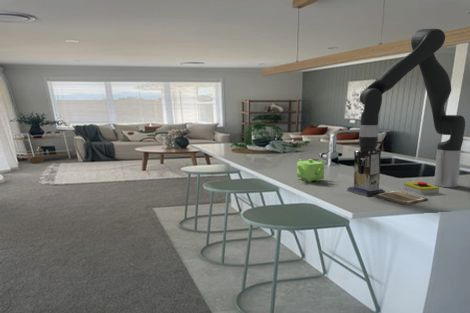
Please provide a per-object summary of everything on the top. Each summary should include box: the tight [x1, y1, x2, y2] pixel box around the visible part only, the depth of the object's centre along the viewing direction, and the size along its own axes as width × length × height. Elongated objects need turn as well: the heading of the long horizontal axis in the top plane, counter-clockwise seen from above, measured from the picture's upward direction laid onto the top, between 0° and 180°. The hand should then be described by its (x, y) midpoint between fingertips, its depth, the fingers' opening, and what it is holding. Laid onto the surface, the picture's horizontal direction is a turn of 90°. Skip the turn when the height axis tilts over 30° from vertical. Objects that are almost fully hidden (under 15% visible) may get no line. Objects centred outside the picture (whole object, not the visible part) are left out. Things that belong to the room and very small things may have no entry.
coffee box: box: [353, 153, 382, 191], centre depth 138 cm, size 9×6×16 cm
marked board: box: [374, 190, 429, 206], centre depth 129 cm, size 14×14×1 cm
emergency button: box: [400, 181, 442, 197], centre depth 140 cm, size 9×4×15 cm
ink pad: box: [346, 185, 386, 197], centre depth 139 cm, size 11×11×2 cm
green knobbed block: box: [296, 158, 326, 183], centre depth 163 cm, size 15×14×11 cm
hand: (366, 172), depth 138 cm, fingers closed on coffee box, 6 cm apart
